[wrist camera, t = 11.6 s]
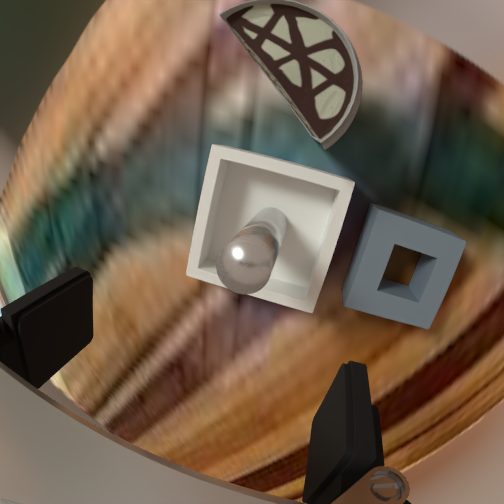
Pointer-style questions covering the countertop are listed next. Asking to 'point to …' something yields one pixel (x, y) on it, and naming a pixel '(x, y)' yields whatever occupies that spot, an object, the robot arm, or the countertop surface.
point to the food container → (302, 62)
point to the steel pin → (252, 252)
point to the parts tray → (277, 196)
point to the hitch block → (424, 277)
